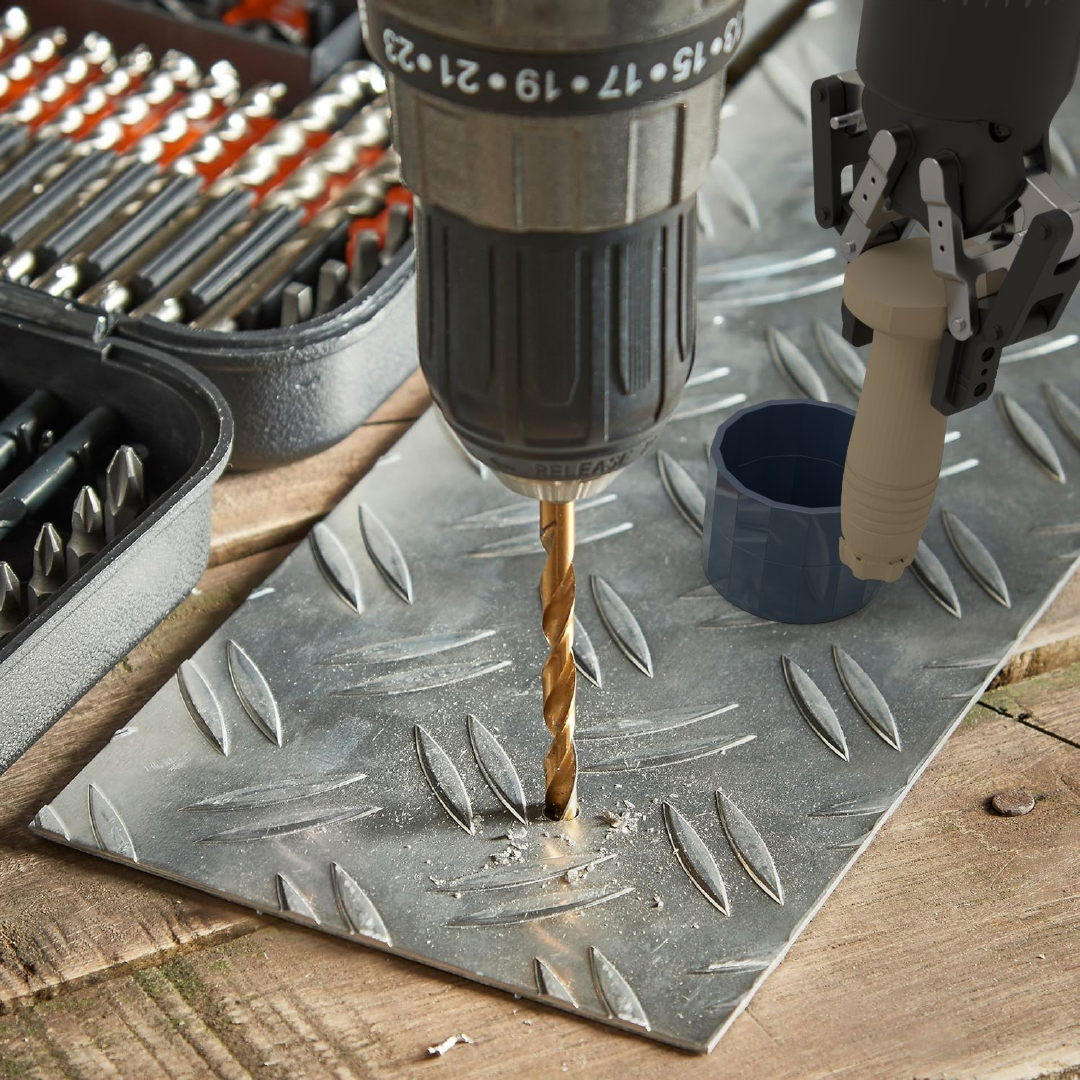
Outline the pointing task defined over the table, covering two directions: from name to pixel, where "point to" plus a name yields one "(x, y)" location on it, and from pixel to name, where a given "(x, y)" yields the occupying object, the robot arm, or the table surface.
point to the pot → (781, 512)
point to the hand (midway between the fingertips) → (909, 369)
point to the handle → (894, 407)
